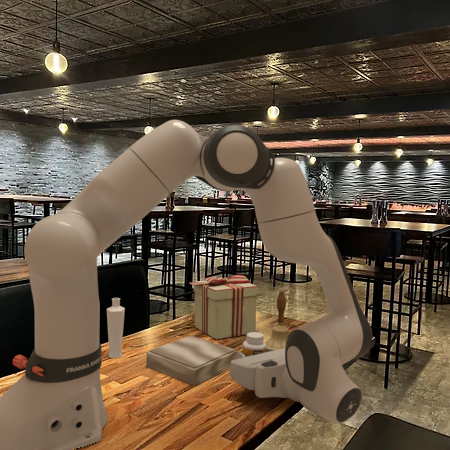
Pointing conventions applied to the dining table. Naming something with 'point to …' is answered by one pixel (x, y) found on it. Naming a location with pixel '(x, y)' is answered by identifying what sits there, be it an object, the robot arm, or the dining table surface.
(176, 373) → the riser
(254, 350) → the supplement bottle
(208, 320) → the gift box
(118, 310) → the perfume bottle
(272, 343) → the hand bell
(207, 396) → the dining table surface
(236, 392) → the dining table surface
